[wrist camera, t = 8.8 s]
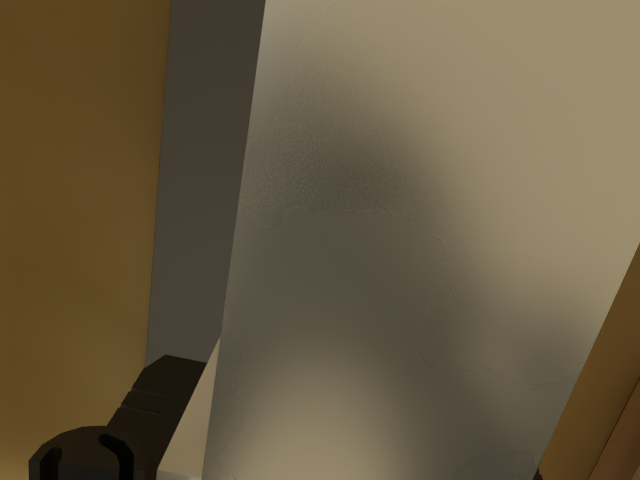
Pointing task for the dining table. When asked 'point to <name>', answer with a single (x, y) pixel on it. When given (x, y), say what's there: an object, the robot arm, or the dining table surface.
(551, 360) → the steel rail
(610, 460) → the hook rack
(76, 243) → the dining table surface
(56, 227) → the dining table surface
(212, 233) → the rubber mat
